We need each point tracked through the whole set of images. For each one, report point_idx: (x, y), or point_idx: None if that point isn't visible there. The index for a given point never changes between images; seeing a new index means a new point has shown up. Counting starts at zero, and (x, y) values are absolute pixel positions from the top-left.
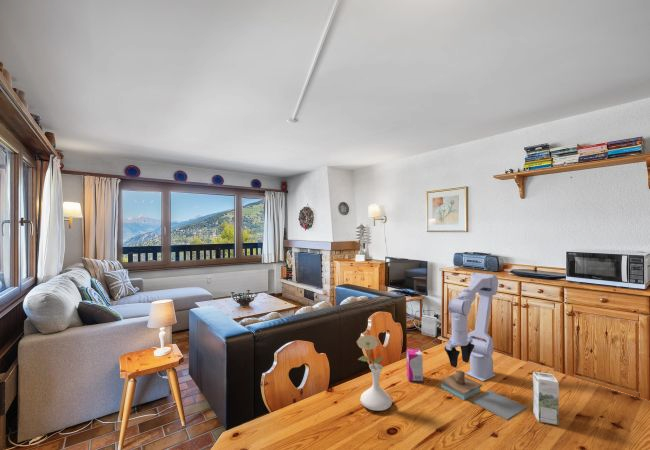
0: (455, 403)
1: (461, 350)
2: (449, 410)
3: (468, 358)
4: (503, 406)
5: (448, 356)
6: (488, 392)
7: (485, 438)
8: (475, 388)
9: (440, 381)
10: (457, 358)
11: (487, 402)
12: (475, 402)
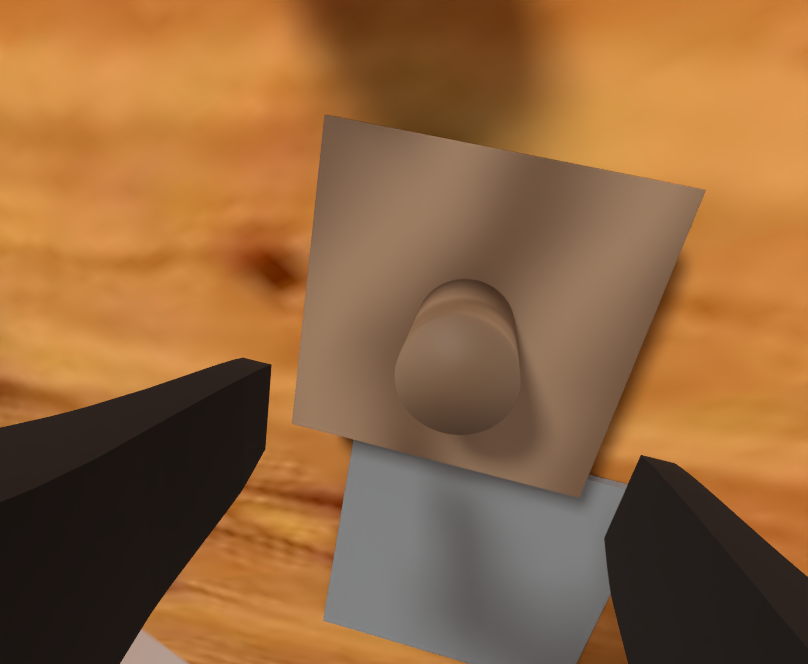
0: (237, 343)
1: (796, 643)
2: (123, 344)
3: (625, 645)
4: (454, 595)
5: (47, 425)
6: (597, 495)
7: None
8: (466, 465)
9: (324, 134)
10: (124, 632)
11: (424, 515)
12: (354, 455)
